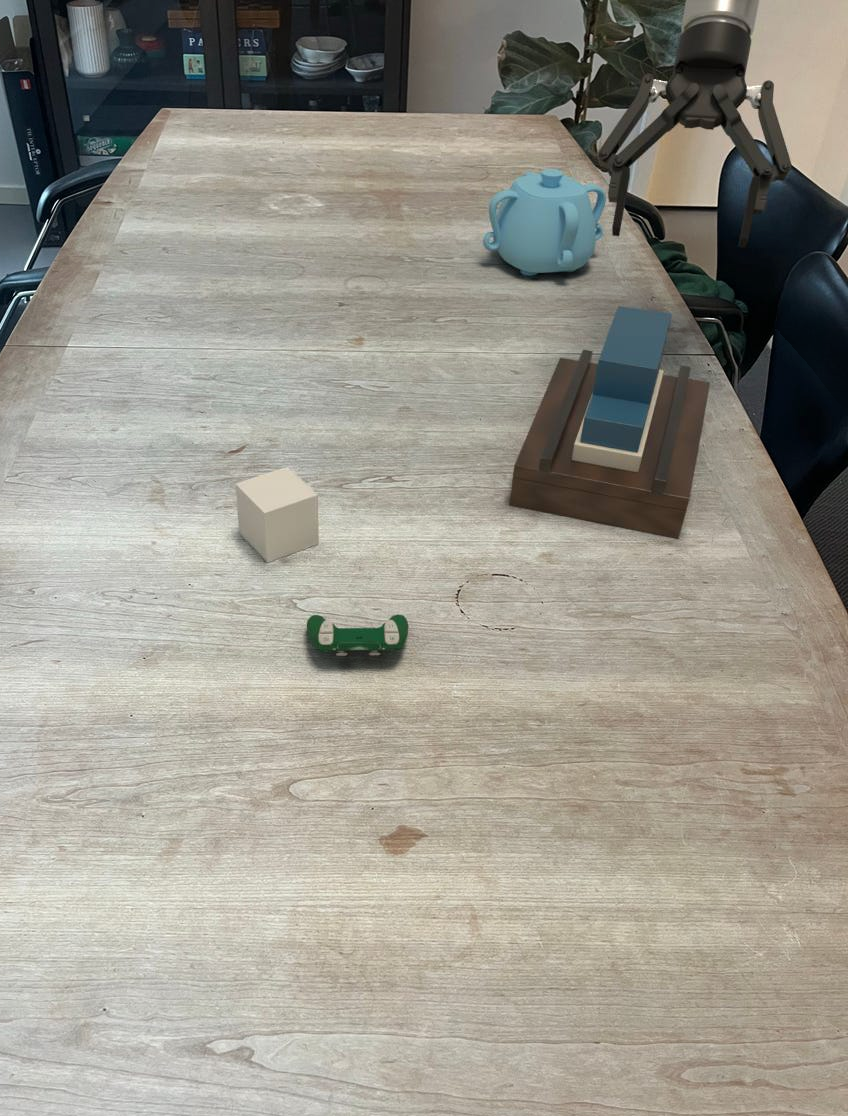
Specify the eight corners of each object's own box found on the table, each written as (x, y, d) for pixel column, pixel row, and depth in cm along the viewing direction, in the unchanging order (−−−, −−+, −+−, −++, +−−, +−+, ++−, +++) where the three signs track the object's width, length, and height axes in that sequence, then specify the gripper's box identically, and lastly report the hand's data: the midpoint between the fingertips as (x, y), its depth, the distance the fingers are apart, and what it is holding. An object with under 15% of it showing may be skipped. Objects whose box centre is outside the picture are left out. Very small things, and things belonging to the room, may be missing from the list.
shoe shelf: (700, 419, 126) (713, 370, 121) (678, 538, 107) (693, 486, 103) (554, 394, 130) (561, 345, 125) (508, 505, 111) (515, 452, 107)
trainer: (601, 375, 123) (614, 303, 117) (660, 385, 122) (677, 312, 116) (571, 460, 109) (584, 382, 103) (638, 473, 107) (655, 394, 101)
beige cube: (267, 563, 103) (264, 513, 99) (239, 532, 107) (234, 483, 103) (319, 543, 105) (318, 494, 101) (289, 515, 109) (287, 466, 105)
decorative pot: (467, 265, 160) (475, 173, 151) (520, 234, 170) (530, 146, 160) (560, 293, 153) (574, 198, 144) (610, 259, 162) (626, 168, 153)
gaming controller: (307, 656, 95) (305, 655, 89) (307, 615, 96) (305, 611, 90) (406, 655, 96) (412, 654, 90) (406, 614, 96) (411, 610, 90)
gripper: (832, 58, 112) (792, 258, 114) (599, 47, 117) (566, 238, 120) (846, 22, 105) (804, 237, 107) (597, 12, 110) (562, 216, 112)
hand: (678, 238), depth 113 cm, fingers open, 13 cm apart
